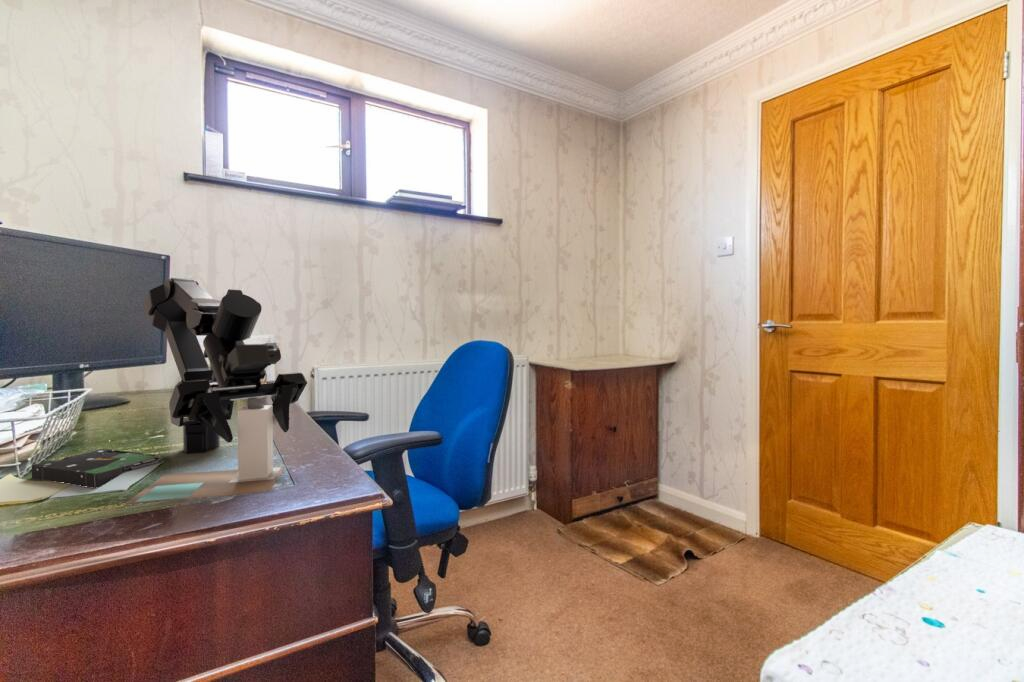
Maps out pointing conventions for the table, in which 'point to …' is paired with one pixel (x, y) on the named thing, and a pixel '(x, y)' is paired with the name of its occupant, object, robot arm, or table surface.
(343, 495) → the table surface
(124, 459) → the disk drive
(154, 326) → the robot arm
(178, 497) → the board
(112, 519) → the table surface
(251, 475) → the capped white bottle
